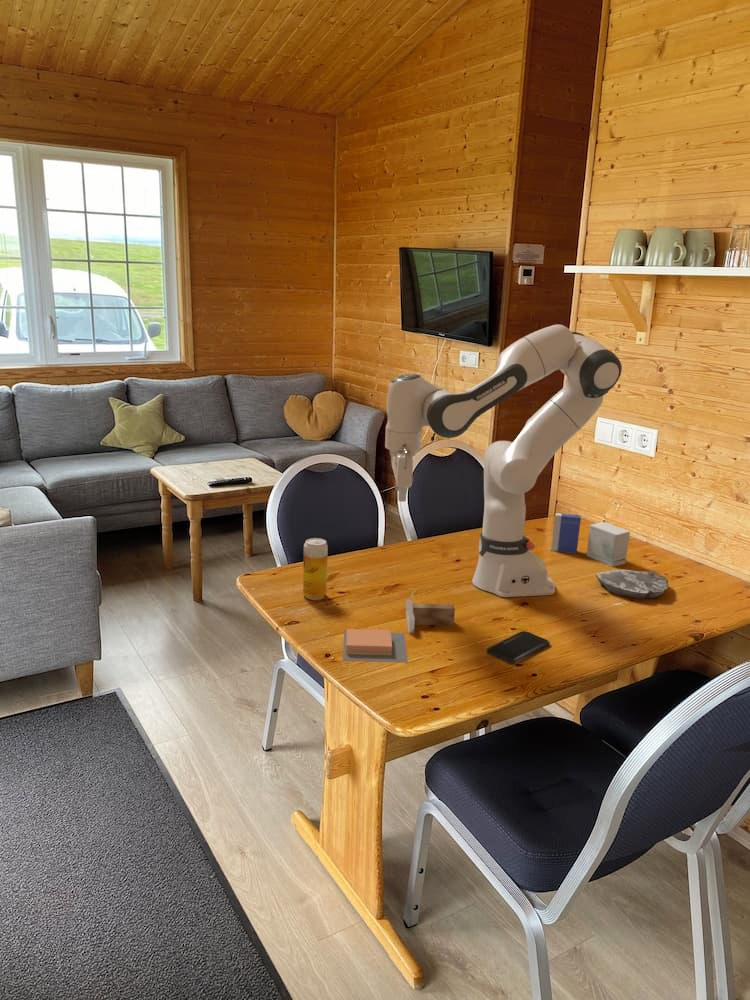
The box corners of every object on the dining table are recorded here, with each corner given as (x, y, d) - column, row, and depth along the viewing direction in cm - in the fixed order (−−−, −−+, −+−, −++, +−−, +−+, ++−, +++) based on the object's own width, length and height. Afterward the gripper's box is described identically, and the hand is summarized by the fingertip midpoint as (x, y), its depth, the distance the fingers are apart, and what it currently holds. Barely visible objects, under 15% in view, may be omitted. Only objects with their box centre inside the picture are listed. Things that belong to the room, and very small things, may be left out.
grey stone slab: (618, 605, 202) (619, 594, 201) (587, 580, 218) (589, 570, 217) (684, 601, 206) (686, 591, 205) (649, 577, 222) (651, 568, 221)
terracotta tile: (390, 630, 175) (347, 628, 175) (392, 646, 167) (346, 645, 167) (390, 638, 176) (346, 637, 175) (391, 655, 168) (346, 653, 168)
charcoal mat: (403, 635, 179) (403, 633, 179) (407, 664, 165) (407, 662, 165) (344, 633, 178) (344, 631, 178) (342, 662, 165) (342, 660, 165)
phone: (551, 641, 177) (513, 661, 167) (551, 646, 177) (512, 666, 167) (523, 630, 182) (484, 648, 172) (523, 634, 183) (484, 653, 173)
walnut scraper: (450, 614, 191) (451, 596, 189) (455, 636, 179) (457, 617, 178) (405, 613, 190) (406, 595, 189) (408, 635, 179) (409, 615, 178)
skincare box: (585, 556, 236) (589, 524, 233) (599, 553, 240) (603, 521, 237) (611, 567, 228) (616, 534, 225) (626, 563, 231) (631, 531, 228)
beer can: (299, 593, 200) (300, 538, 195) (321, 590, 202) (323, 536, 198) (307, 602, 194) (308, 546, 190) (329, 599, 197) (331, 544, 193)
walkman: (576, 550, 240) (581, 514, 237) (576, 553, 238) (581, 517, 234) (551, 547, 242) (555, 511, 239) (550, 550, 240) (554, 514, 236)
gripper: (420, 451, 177) (416, 507, 181) (412, 433, 197) (409, 485, 201) (393, 450, 177) (390, 507, 181) (387, 432, 197) (385, 484, 201)
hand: (400, 495), depth 191 cm, fingers open, 8 cm apart
